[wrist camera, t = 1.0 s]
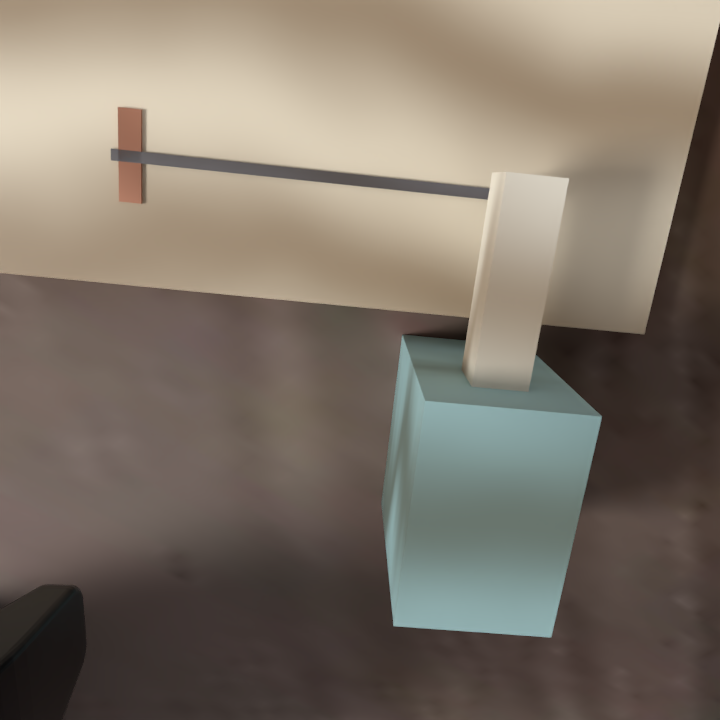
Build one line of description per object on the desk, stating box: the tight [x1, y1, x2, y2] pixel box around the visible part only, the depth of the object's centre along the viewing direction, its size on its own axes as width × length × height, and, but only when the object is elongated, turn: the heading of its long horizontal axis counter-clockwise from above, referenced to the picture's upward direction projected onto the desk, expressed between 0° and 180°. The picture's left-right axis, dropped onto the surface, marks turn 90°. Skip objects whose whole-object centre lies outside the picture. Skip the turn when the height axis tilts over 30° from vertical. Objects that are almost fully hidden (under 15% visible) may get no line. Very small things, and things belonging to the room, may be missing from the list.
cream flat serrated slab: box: [0, 0, 720, 334], centre depth 16 cm, size 14×20×1 cm
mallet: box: [381, 172, 602, 637], centre depth 16 cm, size 11×4×6 cm, turn 174°
